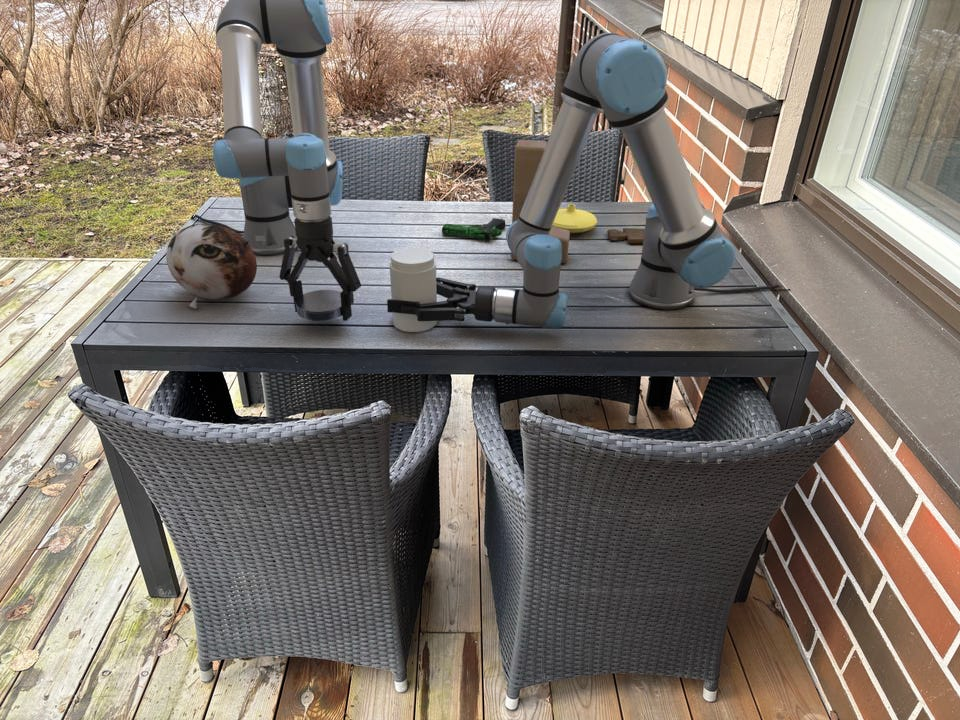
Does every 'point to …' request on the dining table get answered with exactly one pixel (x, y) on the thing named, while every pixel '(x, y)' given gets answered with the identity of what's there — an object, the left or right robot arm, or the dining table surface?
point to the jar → (413, 284)
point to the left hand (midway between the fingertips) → (323, 314)
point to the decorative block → (524, 172)
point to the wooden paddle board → (627, 235)
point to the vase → (574, 220)
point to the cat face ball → (211, 261)
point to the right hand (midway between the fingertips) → (395, 295)
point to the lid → (319, 305)
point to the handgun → (476, 230)
